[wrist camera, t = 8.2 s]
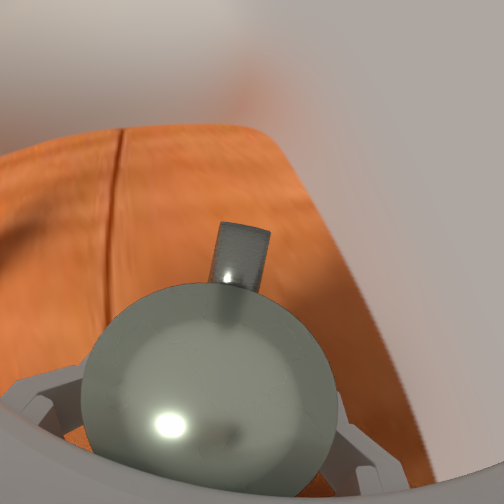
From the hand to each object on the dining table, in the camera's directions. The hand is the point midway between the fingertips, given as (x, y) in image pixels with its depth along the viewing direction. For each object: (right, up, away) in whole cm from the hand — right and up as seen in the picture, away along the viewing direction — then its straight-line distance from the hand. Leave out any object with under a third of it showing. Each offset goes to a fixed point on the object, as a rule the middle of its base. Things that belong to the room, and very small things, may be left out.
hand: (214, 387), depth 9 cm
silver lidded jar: (-1, -3, +4) cm, 5 cm away
